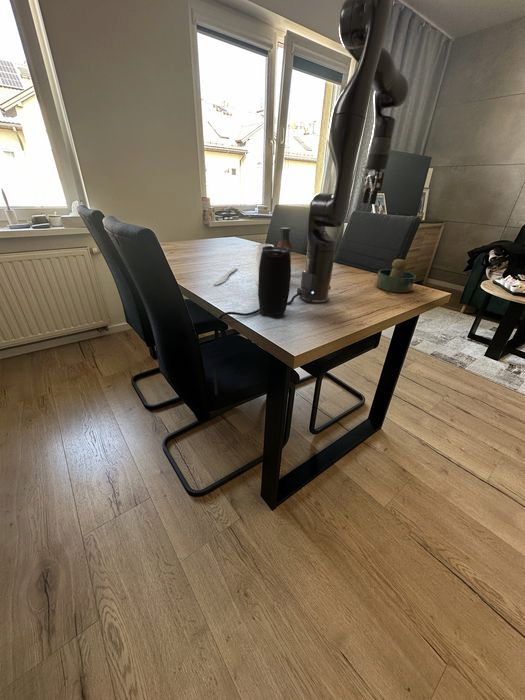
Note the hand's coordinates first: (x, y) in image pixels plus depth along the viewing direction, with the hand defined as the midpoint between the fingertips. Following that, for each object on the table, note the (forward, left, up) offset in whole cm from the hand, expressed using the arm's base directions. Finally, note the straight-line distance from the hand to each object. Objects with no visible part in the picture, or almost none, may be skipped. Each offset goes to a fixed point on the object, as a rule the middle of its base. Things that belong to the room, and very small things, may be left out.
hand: (368, 203), depth 111 cm
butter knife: (-51, +23, -30) cm, 64 cm away
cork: (+7, -16, -30) cm, 35 cm away
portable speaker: (-53, -20, -30) cm, 64 cm away
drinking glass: (-41, +8, -30) cm, 52 cm away
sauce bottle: (-27, +16, -30) cm, 44 cm away
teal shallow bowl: (+7, -16, -30) cm, 35 cm away
